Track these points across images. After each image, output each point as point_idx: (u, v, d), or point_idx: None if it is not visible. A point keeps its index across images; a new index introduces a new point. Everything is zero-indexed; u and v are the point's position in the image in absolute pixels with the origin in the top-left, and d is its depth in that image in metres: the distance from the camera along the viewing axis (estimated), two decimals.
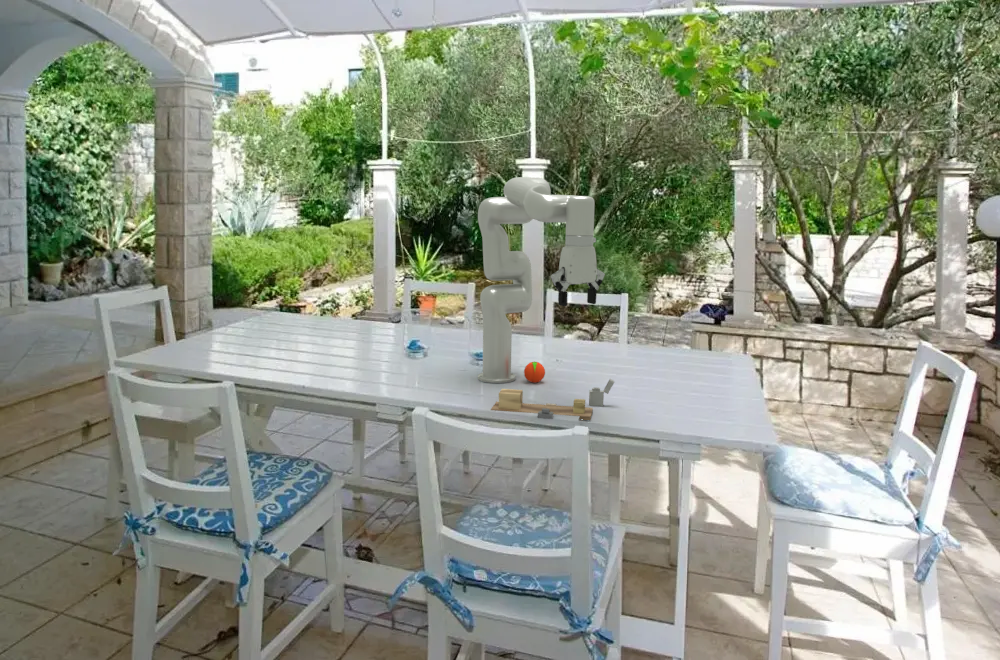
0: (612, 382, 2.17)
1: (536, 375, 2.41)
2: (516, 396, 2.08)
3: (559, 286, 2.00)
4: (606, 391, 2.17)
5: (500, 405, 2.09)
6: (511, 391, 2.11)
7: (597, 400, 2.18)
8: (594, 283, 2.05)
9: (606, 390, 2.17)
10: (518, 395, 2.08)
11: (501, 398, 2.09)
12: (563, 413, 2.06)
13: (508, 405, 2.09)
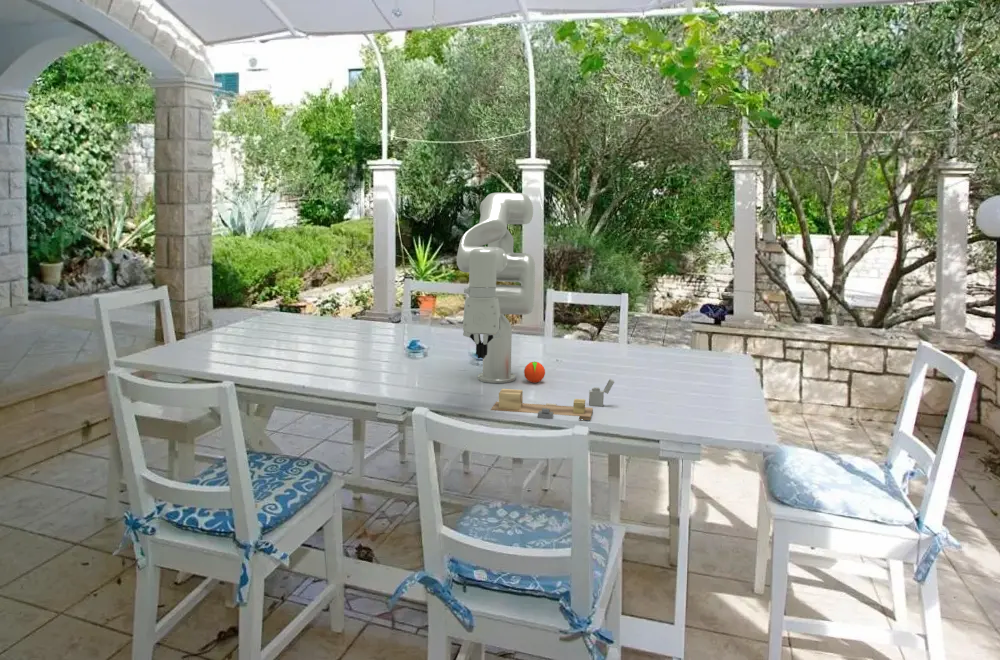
0: (612, 382, 2.17)
1: (536, 375, 2.41)
2: (516, 396, 2.08)
3: None
4: (606, 391, 2.17)
5: (500, 405, 2.09)
6: (511, 391, 2.11)
7: (597, 400, 2.18)
8: None
9: (606, 390, 2.17)
10: (518, 395, 2.08)
11: (501, 398, 2.09)
12: (563, 413, 2.06)
13: (508, 405, 2.09)
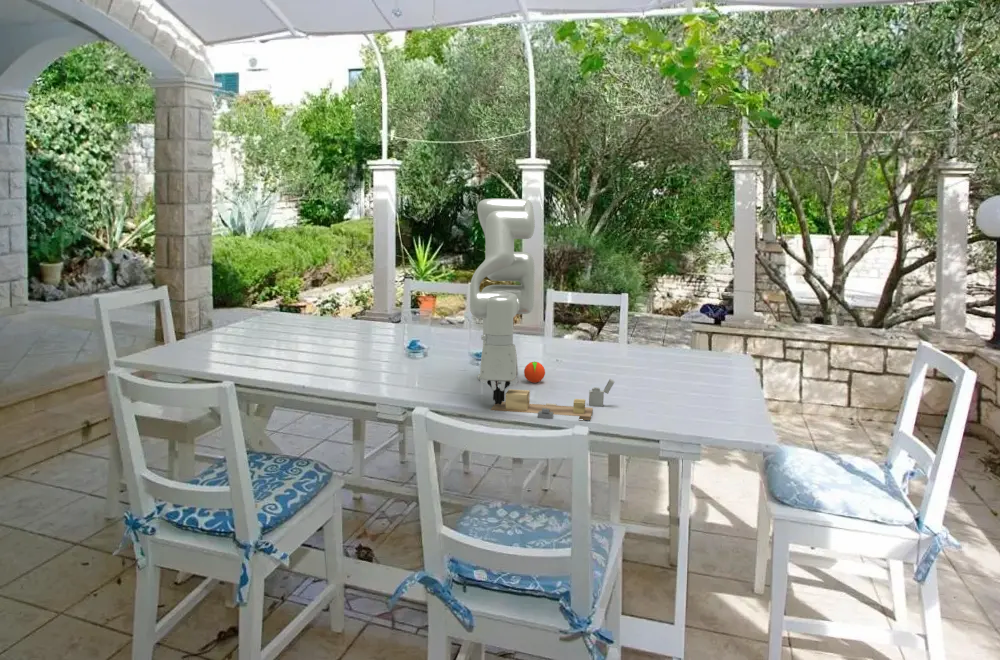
0: (612, 382, 2.17)
1: (536, 375, 2.41)
2: (523, 396, 2.08)
3: None
4: (606, 391, 2.17)
5: (507, 406, 2.09)
6: (518, 391, 2.10)
7: (597, 400, 2.18)
8: None
9: (606, 390, 2.17)
10: (525, 395, 2.07)
11: (508, 399, 2.09)
12: (563, 413, 2.06)
13: (515, 405, 2.09)
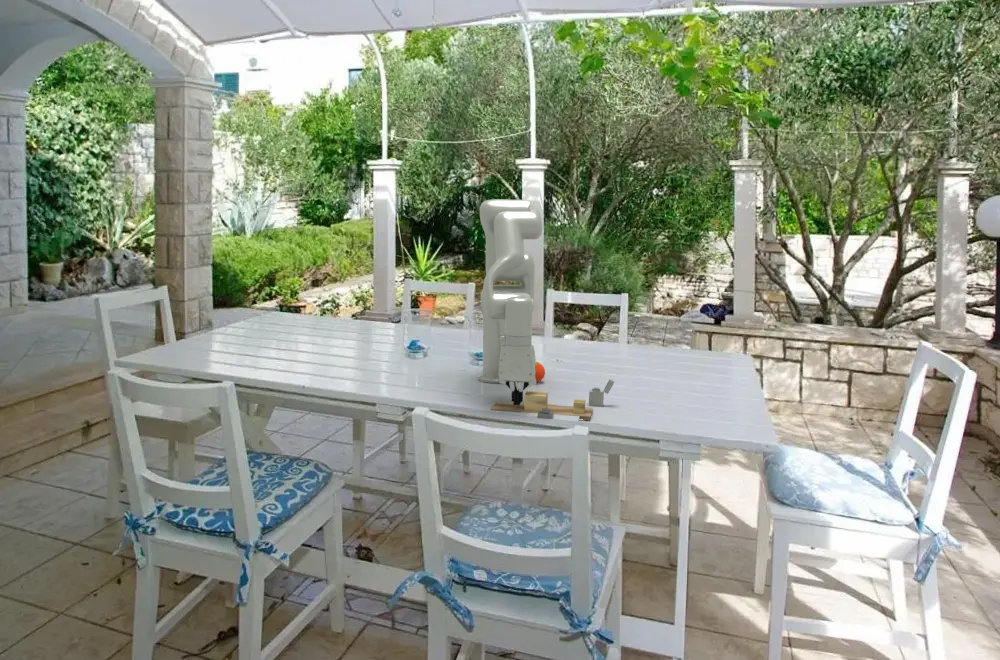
0: (612, 382, 2.17)
1: (536, 375, 2.41)
2: (542, 397, 2.07)
3: None
4: (606, 391, 2.17)
5: (526, 407, 2.08)
6: (536, 393, 2.09)
7: (597, 400, 2.18)
8: None
9: (606, 390, 2.17)
10: (544, 397, 2.06)
11: (527, 400, 2.07)
12: (563, 413, 2.06)
13: (534, 407, 2.07)
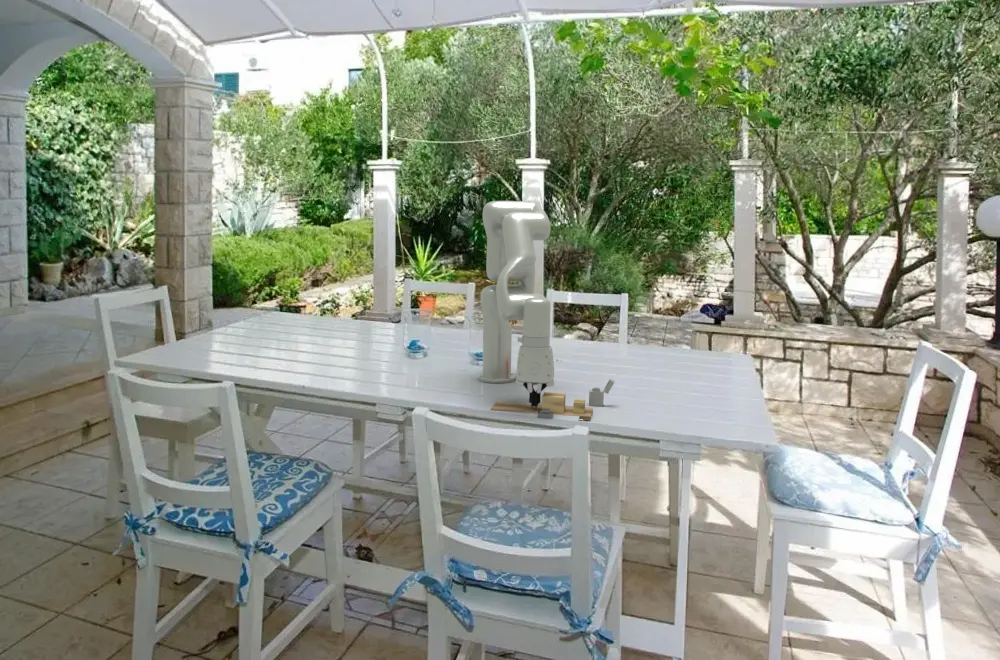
0: (612, 382, 2.17)
1: None
2: (560, 399, 2.05)
3: None
4: (606, 391, 2.17)
5: None
6: (554, 394, 2.08)
7: (597, 400, 2.18)
8: None
9: (606, 390, 2.17)
10: (562, 398, 2.05)
11: (544, 401, 2.06)
12: (563, 413, 2.06)
13: (551, 408, 2.06)
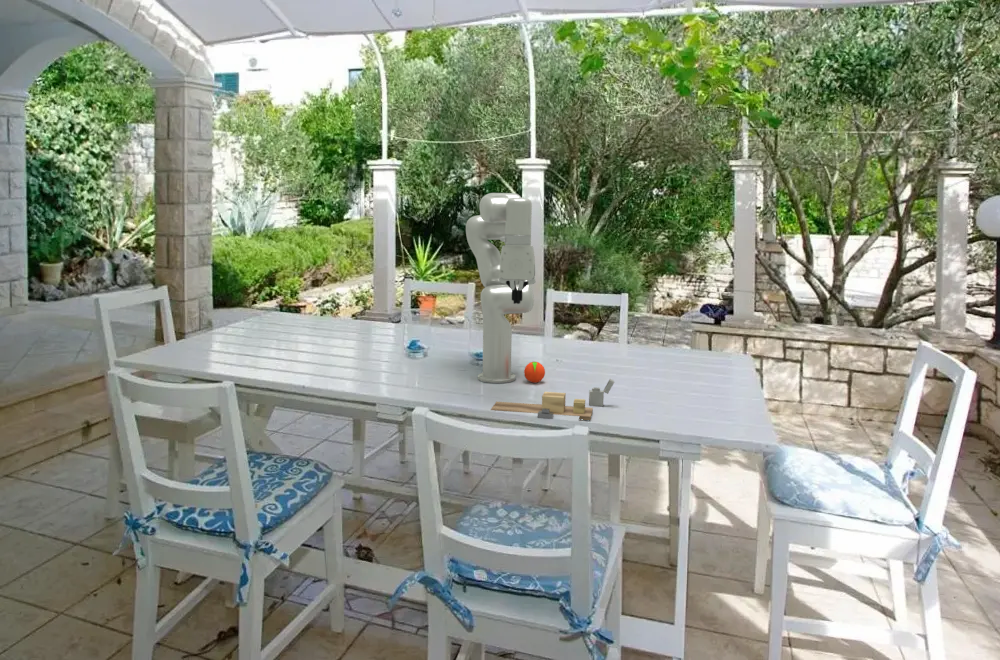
0: (612, 382, 2.17)
1: (536, 375, 2.41)
2: (560, 399, 2.05)
3: None
4: (606, 391, 2.17)
5: None
6: (554, 394, 2.08)
7: (597, 400, 2.18)
8: None
9: (606, 390, 2.17)
10: (562, 398, 2.05)
11: (544, 401, 2.06)
12: (563, 413, 2.06)
13: (551, 408, 2.06)
